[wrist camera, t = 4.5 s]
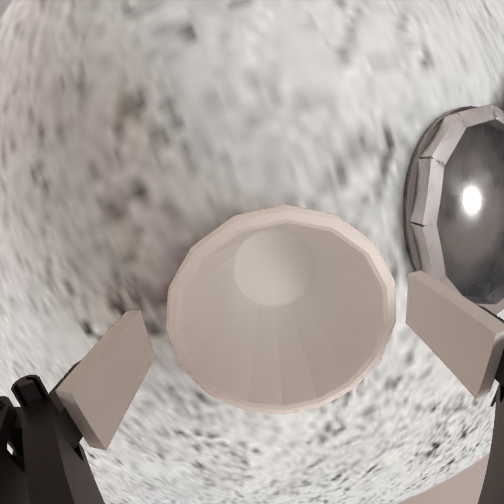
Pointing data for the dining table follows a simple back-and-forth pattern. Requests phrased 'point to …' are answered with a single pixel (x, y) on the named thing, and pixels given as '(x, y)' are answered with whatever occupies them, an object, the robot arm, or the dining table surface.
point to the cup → (281, 309)
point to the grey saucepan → (459, 204)
